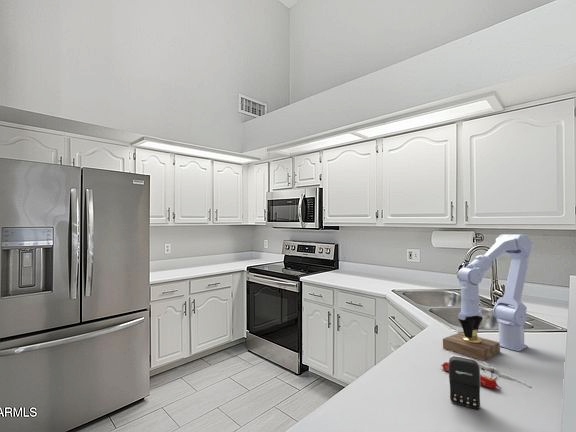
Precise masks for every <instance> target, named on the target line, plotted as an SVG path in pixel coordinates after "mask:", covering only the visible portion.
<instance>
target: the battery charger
mask: <svg viewBox="0 0 576 432" xmlns="http://www.w3.org/2000/svg"><path fill="white" fill-rule="evenodd" d="M448 362H449V371H448V379H449V380H448V381H449V400H450V402H451V403H453V404H455V405H458V406H462V407H466V408H470V409H472V410H473V409H474V410H479V409H480V408H481V385H480V374H481V369H480V367H479V364H478V362H479V361H477V360H475V358H472V357H466V356H461V355H451V356H450V357H449V360H448Z"/></svg>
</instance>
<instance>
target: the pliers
mask: <svg viewBox="0 0 576 432" xmlns="http://www.w3.org/2000/svg"><path fill="white" fill-rule="evenodd" d="M481 361H482V360H481ZM477 362H478V364H479V367H480V370H484V372H485V374H484V375H485V376H487V377H490V378H492V379H494V380H495V381H496V379H497V375H498V377H499V378H502V379H506V380H511V381H512V380H513V381H515V382H518V383H520V384H521V385H524V386H526V387H527V388H529V389H532V385H530V384H529V383H527V382H525V381H523V380H521V379H520V378H518V377H515V376H513V375H510V374H508V373H503V372H501V371H500V370H498V369H497V367H494V366H491V364H489V363H487V362H486V361H482V362H479V361H477ZM493 372H494V374H495V375H494V377H492V374H493ZM497 385H498V386H496V388H498V389H502V386H501V385H499V384H498V383H497Z"/></svg>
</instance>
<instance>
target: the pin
mask: <svg viewBox="0 0 576 432" xmlns="http://www.w3.org/2000/svg"><path fill="white" fill-rule="evenodd" d="M477 337H478V332H477V329H474V328H473V334H472V338H468V337H465V336H463V340H464V341H465V342H468V343H473V344H480V343H481V339H479V338H477Z"/></svg>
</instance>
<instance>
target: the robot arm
mask: <svg viewBox="0 0 576 432" xmlns="http://www.w3.org/2000/svg"><path fill="white" fill-rule="evenodd" d="M532 247H533V241H532V239H531V238H530V237H529V235H528V234H525V233H522V234H520V233H519V234H518V233H517V234H515V233H514V234H513V233H512V234H511V233H510V234H509V233H508V234H507V233H502V234H500V235H499V236H498V237H496V238H495V242H494V243H493V244H492V246H491V247H490V248H489V249H488V250H487V251H486V252H485V254H480V255H476V256H475V257H474V258H475V259H473V260H472V261H471V262H470V263H468V264H467V266H465V267H461V268H460V269H459V270H458V272H457V274H456V278H457V280H458V281H459V286H460V299H461V300H460V301H461V303H460V304H461V310H460V312H459V313H457V314H458V315H457V317H458V318H457V319H458V321H459V323H460V325H461V328H462V330H463V333H464V335H465V337H468V338H472V334H473V328H474V329H477V333H478V331H479V327H480V325H481V323H482V321H483V319H484V317H483V313H482V309H481V308H480V304H479V303H480V299H479V298H480V296H479V295H480V293H479V284H480V283H482V282H483V277H484V275H485V274H486V273H487V272H488V271H489V270H490V269H491V268H492V267H493V261H495V259H496V260H497V258H498V257H500V256H501V255H503V254H504V253H505V254H506V255H507V256H509V257H510V259H511V261H510V266H509V270H508V274H507V280H506V284H505V289H504V293H503V295H502V296H501V297H500V298H498V299H497V300H496V303H495V305H494V307H493V308H492V313H493V316H494V318H496V322H498V342H500V348H505V349H508V350H511V351H512V350H513V351H515V352H520V351H523V350H524V349H526V348H527V347H529V346H528V344H526V343H525V329H524V327H523V326H524V325H525V323H526V322H527V319H528V315H527V309H528V308H527V305H525V304H524V303H523V302H522V296H523V295H522V294H523V290H524V286H525V280H526V276H527V275H526V274H527V270H528V265H529V263H530V262H529V261H530V255H531V251H532Z"/></svg>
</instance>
